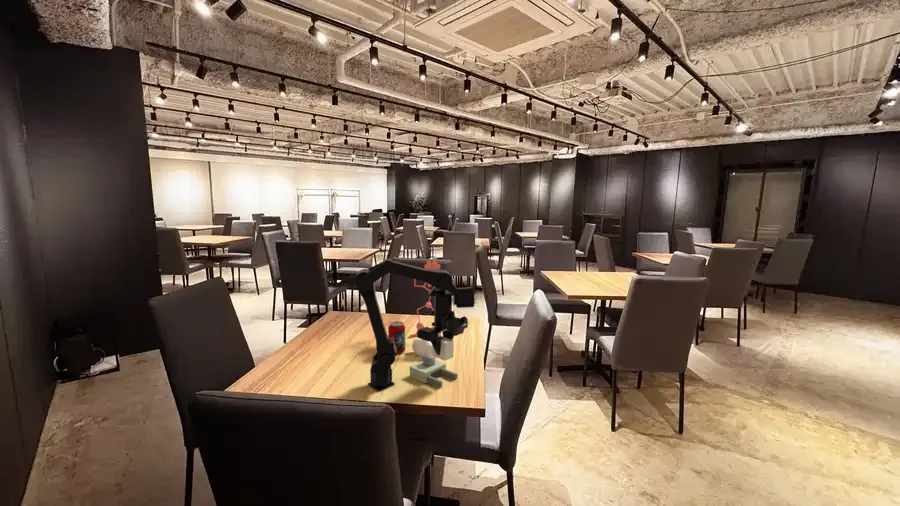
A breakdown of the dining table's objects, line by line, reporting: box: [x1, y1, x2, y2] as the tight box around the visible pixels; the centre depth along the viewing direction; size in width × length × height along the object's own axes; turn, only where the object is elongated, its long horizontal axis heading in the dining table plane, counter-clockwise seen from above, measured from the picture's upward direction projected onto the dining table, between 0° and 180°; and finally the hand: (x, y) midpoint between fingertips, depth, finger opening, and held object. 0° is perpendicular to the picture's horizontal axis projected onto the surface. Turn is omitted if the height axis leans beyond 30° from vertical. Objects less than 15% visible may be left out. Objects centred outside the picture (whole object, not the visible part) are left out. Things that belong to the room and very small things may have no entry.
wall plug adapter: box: [409, 354, 458, 389], centre depth 131 cm, size 10×14×6 cm
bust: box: [411, 338, 432, 358], centre depth 151 cm, size 12×8×11 cm
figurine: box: [413, 259, 441, 337], centre depth 171 cm, size 15×26×35 cm, turn 48°
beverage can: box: [387, 320, 406, 355], centre depth 153 cm, size 7×7×12 cm
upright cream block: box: [432, 335, 455, 362], centre depth 127 cm, size 4×6×6 cm, turn 48°
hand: (442, 353), depth 127 cm, fingers closed on upright cream block, 4 cm apart
